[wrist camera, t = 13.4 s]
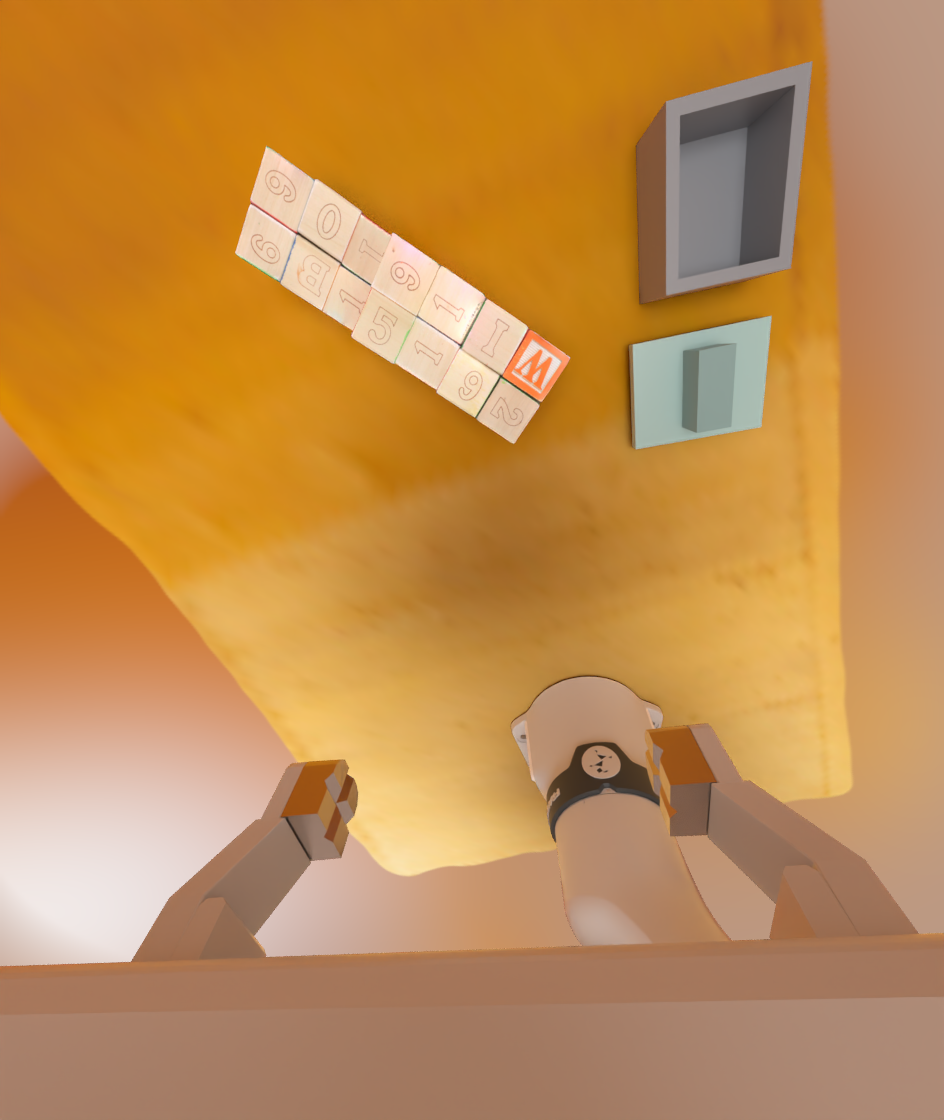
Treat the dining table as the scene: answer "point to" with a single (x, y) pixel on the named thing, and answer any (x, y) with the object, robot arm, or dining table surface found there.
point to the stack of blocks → (397, 299)
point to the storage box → (721, 184)
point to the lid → (699, 383)
